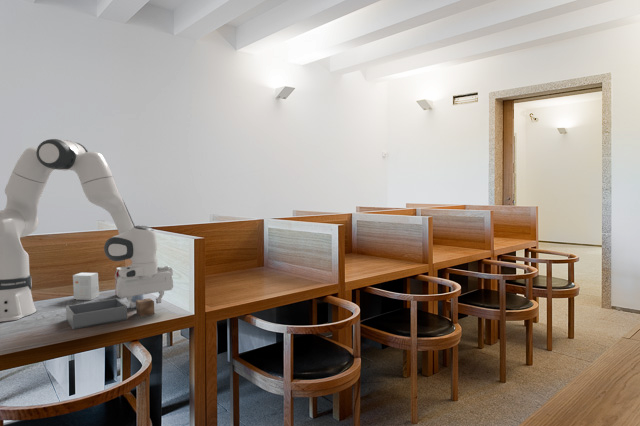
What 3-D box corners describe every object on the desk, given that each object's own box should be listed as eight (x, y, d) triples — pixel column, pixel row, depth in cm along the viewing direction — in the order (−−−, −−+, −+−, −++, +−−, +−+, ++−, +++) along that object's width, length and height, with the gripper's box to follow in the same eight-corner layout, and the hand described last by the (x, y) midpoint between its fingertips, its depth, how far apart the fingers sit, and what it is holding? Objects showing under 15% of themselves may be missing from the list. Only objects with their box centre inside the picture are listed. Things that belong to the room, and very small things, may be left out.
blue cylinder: (131, 309, 170) (131, 291, 169) (128, 306, 174) (127, 289, 173) (145, 307, 173) (144, 289, 172) (141, 304, 177) (140, 287, 176)
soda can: (125, 292, 195) (124, 265, 194) (135, 294, 192) (135, 267, 192) (112, 295, 189) (111, 268, 188) (122, 297, 186) (122, 270, 185)
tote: (73, 329, 146) (72, 315, 146) (66, 319, 157) (66, 306, 156) (127, 319, 157) (127, 306, 157) (117, 311, 167) (117, 298, 167)
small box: (99, 296, 188) (98, 272, 187) (91, 300, 182) (90, 275, 181) (81, 296, 188) (81, 272, 188) (73, 299, 183) (72, 274, 182)
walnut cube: (140, 316, 161) (140, 303, 161) (136, 313, 165) (136, 300, 165) (154, 314, 164) (154, 301, 164) (150, 311, 168) (149, 298, 168)
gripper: (169, 264, 172) (170, 298, 173) (113, 271, 160) (115, 308, 161) (175, 266, 167) (176, 302, 168) (118, 274, 155) (119, 312, 156)
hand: (146, 305), depth 164 cm, fingers open, 8 cm apart
